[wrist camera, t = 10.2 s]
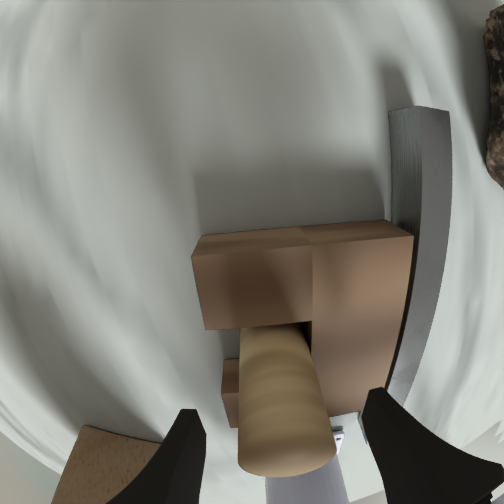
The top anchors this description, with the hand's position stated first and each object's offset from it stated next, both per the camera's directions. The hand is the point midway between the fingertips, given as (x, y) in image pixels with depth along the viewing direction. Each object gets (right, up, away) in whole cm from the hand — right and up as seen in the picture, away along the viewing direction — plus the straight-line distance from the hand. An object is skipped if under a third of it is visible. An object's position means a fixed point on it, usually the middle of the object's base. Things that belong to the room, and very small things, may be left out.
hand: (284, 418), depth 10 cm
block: (+2, +3, +6) cm, 7 cm away
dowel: (0, +2, +6) cm, 7 cm away
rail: (+8, +3, +6) cm, 11 cm away
